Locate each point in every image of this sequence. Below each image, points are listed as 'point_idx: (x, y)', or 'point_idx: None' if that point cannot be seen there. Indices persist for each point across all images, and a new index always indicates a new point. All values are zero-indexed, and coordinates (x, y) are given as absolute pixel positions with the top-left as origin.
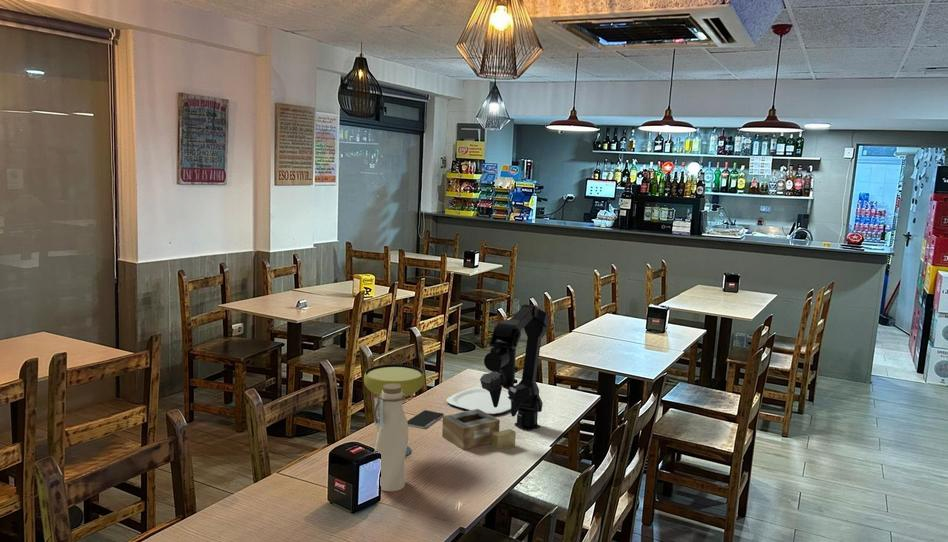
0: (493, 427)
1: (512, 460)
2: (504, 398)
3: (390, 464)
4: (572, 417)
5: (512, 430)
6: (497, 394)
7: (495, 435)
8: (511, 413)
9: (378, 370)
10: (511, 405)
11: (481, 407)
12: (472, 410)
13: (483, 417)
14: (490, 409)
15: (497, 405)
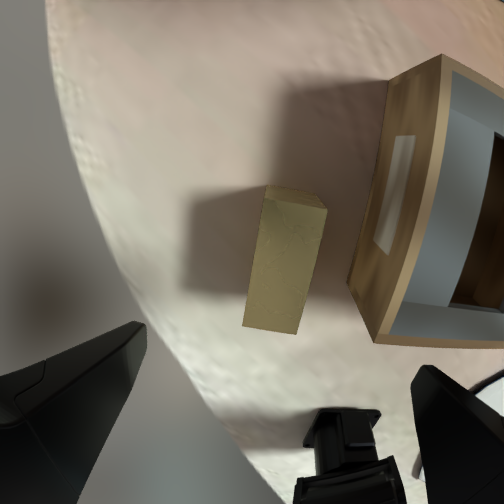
0: (377, 282)
1: (149, 166)
2: None
3: None
4: (281, 496)
5: (268, 328)
6: (451, 479)
7: (291, 202)
8: (130, 334)
9: None
10: (56, 382)
11: (500, 400)
12: None
13: (467, 306)
14: None
15: (412, 397)
